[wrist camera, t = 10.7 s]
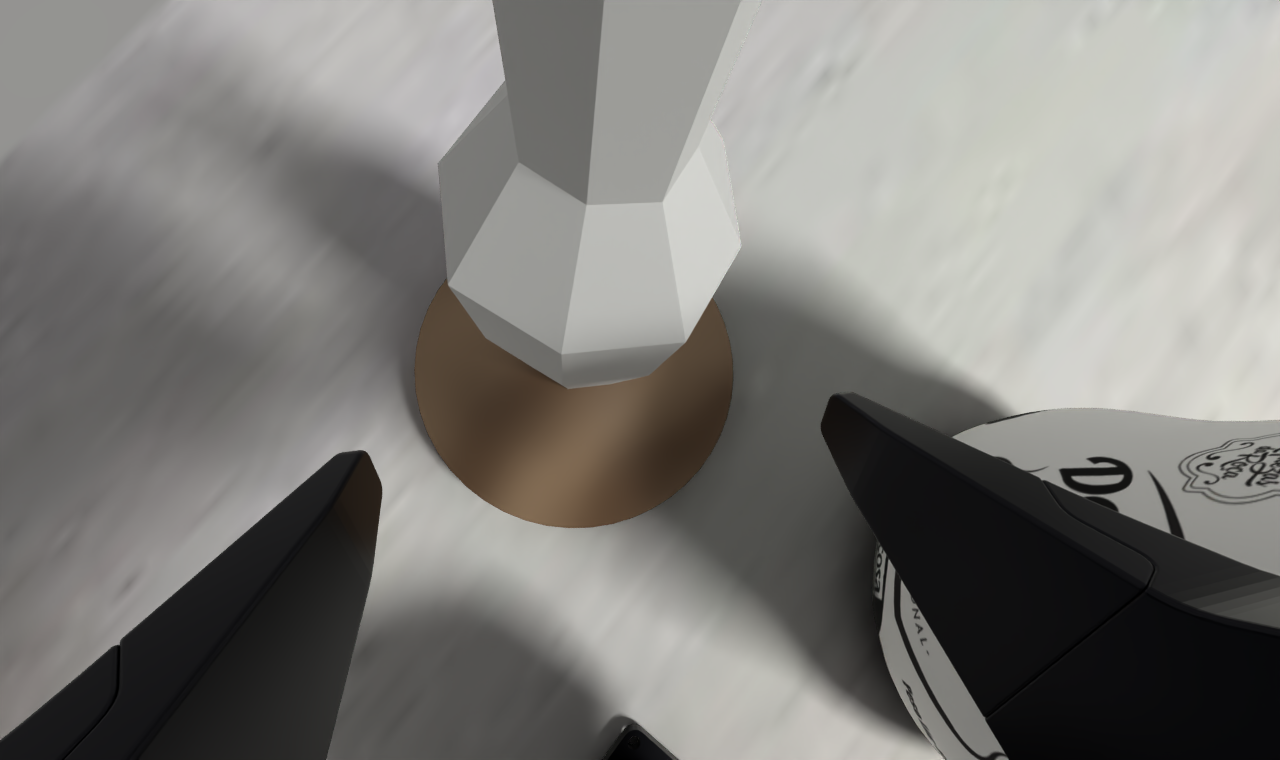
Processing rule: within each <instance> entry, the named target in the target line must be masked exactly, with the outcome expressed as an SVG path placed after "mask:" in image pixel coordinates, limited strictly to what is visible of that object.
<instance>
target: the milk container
mask: <svg viewBox="0 0 1280 760" xmlns="http://www.w3.org/2000/svg"><path fill="white" fill-rule="evenodd" d="M952 438H954V439H956V440H959V441H961V442H963V443H965V444H967V445H970V446H972V447H974V448H976V449H978V450H980V451H983V452H985V453H987V454H989V455H991V456H994V457H996V458H998V459H1000V460H1002V461H1005V462H1007V463H1009V464H1011V465H1013V466H1016V467H1018V468H1020V469H1022V470H1024V471H1026V472H1029V473H1031V474H1033V475H1035V476H1037V477H1039V478H1040V479H1041V480H1046V481H1049V482H1051V483H1053V484H1055V485H1057V486H1059V487H1062V488H1064V489H1066V490H1068V491H1070V492H1073V493H1075V494H1077V495H1079V496H1082V497H1084V498H1086V499H1089V500H1091V501H1093V502H1095V503H1098V504H1100V505H1102V506H1104V507H1107V508H1109V509H1112V510H1114V511H1116V512H1119V513H1121V514H1124V515H1126V516H1128V517H1131V518H1133V519H1136V520H1138V521H1140V522H1143V523H1145V524H1148V525H1150V526H1153V527H1155V528H1157V529H1160V530H1162V531H1165V532H1167V533H1170V534H1172V535H1175V536H1177V537H1180V538H1182V539H1185V540H1187V541H1190V542H1192V543H1194V544H1197V545H1199V546H1202V547H1204V548H1207V549H1209V550H1212V551H1214V552H1217V553H1219V554H1222V555H1224V556H1226V557H1229V558H1231V559H1234V560H1236V561H1239V562H1241V563H1244V564H1246V565H1249V566H1252V567H1254V568H1257V569H1260V570H1263V571H1266V572H1269V573H1272V574H1276V575H1279V576H1280V420H1268V421H1207V420H1196V419H1186V418H1179V417H1171V416H1164V415H1157V414H1149V413H1142V412H1135V411H1125V410H1115V409H1103V408H1065V409H1053V410H1044V411H1037V412H1029V413H1025V414H1020V415H1015V416H1011V417H1007V418H1003V419H999V420H996V421H992V422H988V423H985V424H982V425H979V426H976V427H974V428H971V429H968V430H966V431H963V432H961V433H959V434H957V435H955V436H953V437H952ZM872 596H873V610H874V616H875V622H876V626H877V631H878V635H879V639H880V643H881V648H882V652H883V655H884V659H885V662H886V665H887V668H888V671H889V673H890V675H891V677H892V679H893V682H894V684H895V686H896V688H897V690H898V693H899V695H900V697H901V699H902V700H903V702H904V704H905V706H906V708H907V710H908V712H909V713H910V715H911V716H912V718H913V719H914V721H915V723H916V724H917V726H918V727H919V728H920V730H921V731H922V732H923V734H924V735H925V736H926V738H927V739H928V740H929V742H930V743H931V744H932V745H933V746H934V748H935V749H936V750H937V751H938V752H939V754H940V755H941V756H942V757H943V758H944V759H945V760H1009V759H1008V758H1007V756H1006V754H1005V753H1004V751H1003V749H1002V748H1001V746H1000V744H999V743H998V741H997V739H996V738H995V736H994V734H993V733H992V731H991V729H990V728H989V726H988V724H987V723H986V721H985V717H983V715H982V714H981V712H980V710H979V709H978V707H977V705H976V704H975V702H974V700H973V699H972V697H971V695H970V694H969V692H968V690H967V689H966V687H965V685H964V684H963V682H962V680H961V679H960V677H959V675H958V674H957V672H956V670H955V669H954V667H953V665H952V664H951V662H950V660H949V659H948V657H947V655H946V654H945V652H944V650H943V649H942V647H941V645H940V644H939V642H938V640H937V639H936V637H935V635H934V634H933V632H932V630H931V629H930V627H929V625H928V624H927V622H926V620H925V619H924V617H923V615H922V614H921V612H920V610H919V609H918V607H917V605H916V604H915V602H914V600H913V599H912V597H911V595H910V594H909V592H908V590H907V589H906V587H905V585H904V584H903V582H902V580H901V579H900V577H899V575H898V574H897V572H896V570H895V569H894V567H893V565H892V564H891V562H890V560H889V559H888V557H887V555H886V553H885V552H884V550H883V548H882V547H881V545H880V543H879V542H878V540H877V543H876V550H875V557H874V571H873V586H872Z"/></svg>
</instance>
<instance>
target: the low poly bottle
mask: <svg viewBox="0 0 1280 760" xmlns="http://www.w3.org/2000/svg"><path fill="white" fill-rule="evenodd" d="M492 1H493V7H494V13H495V19H496V25H497V31H498V37H499V44H500V50H501V56H502V62H503V68H504V74H505V81H504V82H503V84H502V85H501V86H500V87H499V89H498V90H497V91H496V92H495V94H494V95H493V96H492V97H491V99H490V100H489V101H488V102H487V104H486V105H485V106H484V107H483V109H482V110H481V111H480V112H479V113H478V115H477V116H476V117H475V118H474V120H473V121H472V122H471V123H470V125H469V126H468V127H467V128H466V130H465V131H464V132H463V133H462V135H461V136H460V137H459V138H458V140H457V141H456V142H455V143H454V145H453V146H452V147H451V148H450V149H449V151H448V152H447V153H446V154H445V156H444V157H443V158H442V159H441V161H440V162H439V163H438V169H439V181H440V194H441V206H442V219H443V231H444V244H445V256H446V269H447V281H448V286H449V287H450V289H451V290H452V292H453V293H454V294H455V296H456V297H457V299H458V300H459V301H460V303H461V304H462V306H463V307H464V308H465V310H466V311H467V313H468V314H469V315H470V317H471V318H472V320H473V321H474V322H475V324H476V325H477V327H478V328H479V329H480V331H481V332H482V334H483V335H484V336H485V338H486V339H488V340H490V341H491V342H493V343H494V344H496V345H498V346H499V347H501V348H502V349H504V350H505V351H507V352H509V353H510V354H512V355H513V356H515V357H517V358H518V359H520V360H521V361H523V362H525V363H526V364H528V365H529V366H531V367H533V368H534V369H536V370H538V371H539V372H541V373H543V374H544V375H546V376H547V377H549V378H551V379H552V380H554V381H556V382H557V383H559V384H561V385H562V386H564V387H566V388H567V389H573V388H582V387H591V386H600V385H609V384H614V383H618V382H622V381H627V380H631V379H635V378H640V377H644V376H649V375H650V374H651V373H652V372H653V371H654V370H656V369H657V368H658V367H659V366H660V365H661V364H662V363H663V362H664V361H666V360H667V359H668V358H669V357H670V356H671V355H672V354H673V353H674V352H676V351H677V350H678V349H679V348H680V347H681V346H682V345H683V344H684V343H686V341H687V339H688V338H689V336H690V334H691V333H692V331H693V329H694V327H695V326H696V324H697V322H698V321H699V319H700V317H701V315H702V314H703V312H704V310H705V309H706V307H707V305H708V303H709V302H710V300H711V298H712V297H713V295H714V293H715V291H716V290H717V288H718V286H719V285H720V283H721V281H722V279H723V278H724V276H725V274H726V273H727V271H728V269H729V267H730V266H731V264H732V262H733V261H734V259H735V257H736V255H737V254H738V252H739V250H740V249H741V247H742V245H741V239H740V233H739V227H738V221H737V215H736V209H735V204H734V198H733V192H732V186H731V180H730V174H729V168H728V163H727V157H726V151H725V145H724V140H723V138H722V136H721V135H720V133H719V131H718V130H717V128H716V126H715V125H714V123H713V122H712V120H711V117H712V114H713V112H714V110H715V108H716V105H717V103H718V101H719V98H720V96H721V94H722V92H723V89H724V87H725V85H726V82H727V80H728V78H729V76H730V73H731V71H732V69H733V66H734V64H735V62H736V60H737V57H738V55H739V53H740V50H741V48H742V46H743V44H744V41H745V39H746V37H747V34H748V32H749V30H750V27H751V25H752V23H753V21H754V18H755V16H756V14H757V11H758V9H759V7H760V5H761V2H762V0H492Z"/></svg>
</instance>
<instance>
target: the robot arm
mask: <svg viewBox="0 0 1280 760" xmlns="http://www.w3.org/2000/svg"><path fill="white" fill-rule="evenodd" d="M821 432H822V435H823V437H824V439H825V442H826V444H827V446H828V448H829V450H830V452H831V454H832V457H833V459H834V461H835V463H836V465H837V467H838V469H839V472H840V474H841V476H842V478H843V480H844V482H845V484H846V486H847V488H848V490H849V492H850V494H851V496H852V498H853V500H854V502H855V503H856V505H857V507H858V508H859V510H860V512H861V513H862V515H863V517H864V518H865V520H866V522H867V523H868V525H869V527H870V528H871V530H872V532H873V533H874V535H875V537H876V538H877V540H878V542H879V543H880V545H881V547H882V548H883V550H884V552H885V553H886V555H887V557H888V559H889V560H890V562H891V564H892V565H893V567H894V569H895V570H896V572H897V574H898V575H899V577H900V579H901V580H902V582H903V584H904V585H905V587H906V589H907V590H908V592H909V594H910V595H911V597H912V599H913V600H914V602H915V604H916V605H917V607H918V609H919V610H920V612H921V614H922V615H923V617H924V619H925V620H926V622H927V624H928V625H929V627H930V629H931V630H932V632H933V634H934V635H935V637H936V639H937V640H938V642H939V644H940V645H941V647H942V649H943V650H944V652H945V654H946V655H947V657H948V659H949V660H950V662H951V664H952V665H953V667H954V669H955V670H956V672H957V674H958V675H959V677H960V679H961V680H962V682H963V684H964V685H965V687H966V689H967V690H968V692H969V694H970V695H971V697H972V699H973V700H974V702H975V704H976V705H977V707H978V709H979V710H980V712H981V714H982V715H983V717H985V721H986V723H987V724H988V726H989V728H990V729H991V731H992V733H993V734H994V736H995V738H996V739H997V741H998V743H999V744H1000V746H1001V748H1002V749H1003V751H1004V753H1005V754H1006V756H1007V758H1008V759H1009V760H1280V576H1279V575H1276V574H1272V573H1269V572H1266V571H1263V570H1260V569H1257V568H1254V567H1252V566H1249V565H1246V564H1244V563H1241V562H1239V561H1236V560H1234V559H1231V558H1229V557H1226V556H1224V555H1222V554H1219V553H1217V552H1214V551H1212V550H1209V549H1207V548H1204V547H1202V546H1199V545H1197V544H1194V543H1192V542H1190V541H1187V540H1185V539H1182V538H1180V537H1177V536H1175V535H1172V534H1170V533H1167V532H1165V531H1162V530H1160V529H1157V528H1155V527H1153V526H1150V525H1148V524H1145V523H1143V522H1140V521H1138V520H1136V519H1133V518H1131V517H1128V516H1126V515H1124V514H1121V513H1119V512H1116V511H1114V510H1112V509H1109V508H1107V507H1104V506H1102V505H1100V504H1098V503H1095V502H1093V501H1091V500H1089V499H1086V498H1084V497H1082V496H1079V495H1077V494H1075V493H1073V492H1070V491H1068V490H1066V489H1064V488H1062V487H1059V486H1057V485H1055V484H1053V483H1051V482H1049V481H1046V480H1041V479H1040V478H1039V477H1037V476H1035V475H1033V474H1031V473H1029V472H1026V471H1024V470H1022V469H1020V468H1018V467H1016V466H1013V465H1011V464H1009V463H1007V462H1005V461H1002V460H1000V459H998V458H996V457H994V456H991V455H989V454H987V453H985V452H983V451H980V450H978V449H976V448H974V447H972V446H970V445H967V444H965V443H963V442H961V441H959V440H956V439H954V438H952V437H950V436H948V435H945V434H943V433H941V432H939V431H937V430H935V429H932V428H930V427H928V426H926V425H924V424H921V423H919V422H917V421H915V420H913V419H910V418H908V417H906V416H904V415H902V414H900V413H897V412H895V411H893V410H891V409H889V408H886V407H884V406H882V405H880V404H878V403H875V402H873V401H871V400H869V399H867V398H864V397H862V396H860V395H858V394H856V393H853V392H844V393H836V394H833V395H832V396H831V397H830V399H829V401H828V404H827V407H826V410H825V413H824V416H823V419H822V422H821ZM381 500H382V485H381V481H380V479H379V477H378V474H377V472H376V470H375V468H374V465H373V463H372V461H371V458H370V456H369V455H368V453H367V452H366V451H363V450H358V451H350V452H342V453H339V454H337V455H335V456H334V457H333V458H332V459H330V460H329V461H328V462H327V463H326V464H325V465H323V466H322V467H321V468H320V469H319V470H318V471H316V472H315V473H314V474H313V475H312V476H311V477H310V478H308V479H307V480H306V481H305V482H304V483H303V484H301V485H300V486H299V487H298V488H297V489H296V490H294V491H293V492H292V493H291V494H290V495H289V496H287V497H286V498H285V499H284V500H283V501H282V502H280V503H279V504H278V505H277V506H276V507H275V508H273V509H272V510H271V511H270V512H269V513H268V514H266V515H265V516H264V517H263V518H262V519H261V520H259V521H258V522H257V523H256V524H255V525H254V526H253V527H251V528H250V529H249V530H248V531H247V532H246V533H244V534H243V535H242V536H241V537H240V538H239V539H237V540H236V541H235V542H234V543H233V544H232V545H230V546H229V547H228V548H227V549H226V550H225V551H223V552H222V553H221V554H220V555H219V556H218V557H216V558H215V559H214V560H213V561H212V562H211V563H209V564H208V565H207V566H206V567H205V568H204V569H202V570H201V571H200V572H199V573H198V574H197V575H196V576H194V577H193V578H192V579H191V580H190V581H189V582H187V583H186V584H185V585H184V586H183V587H182V588H180V589H179V590H178V591H177V592H176V593H175V594H173V595H172V596H171V597H170V598H169V599H168V600H166V601H165V602H164V603H163V604H162V605H161V606H159V607H158V608H157V609H156V610H155V611H154V612H152V613H151V614H150V615H149V616H148V617H147V618H145V619H144V620H143V621H142V622H141V623H140V624H138V625H137V626H136V627H135V628H134V629H133V630H132V631H130V632H129V633H128V634H127V635H126V636H125V637H123V638H122V639H121V641H120V645H115V646H113V647H111V648H110V649H109V650H108V651H107V652H106V653H104V654H103V655H102V656H101V657H100V658H99V659H97V660H96V661H95V662H94V663H93V664H92V665H91V666H89V667H88V668H87V669H86V670H85V671H84V672H82V673H81V674H80V675H79V676H78V677H76V678H75V679H74V680H73V681H72V682H70V683H69V684H68V685H67V686H66V687H64V688H63V689H62V690H61V691H60V692H59V693H57V694H56V695H55V696H54V697H53V698H51V699H50V700H49V701H48V702H47V703H45V704H44V705H43V706H42V707H41V708H39V709H38V710H37V711H36V712H35V713H33V714H32V715H31V716H30V717H29V718H27V719H26V720H25V721H24V722H23V723H21V724H20V725H19V726H18V727H16V728H15V729H14V730H13V731H11V732H10V733H9V734H8V735H6V736H5V737H4V738H3V739H1V740H0V760H326V758H327V754H328V750H329V746H330V742H331V738H332V734H333V730H334V726H335V722H336V718H337V714H338V710H339V706H340V702H341V698H342V694H343V690H344V686H345V682H346V678H347V674H348V670H349V666H350V662H351V658H352V654H353V650H354V646H355V642H356V638H357V634H358V630H359V626H360V622H361V618H362V614H363V610H364V606H365V602H366V598H367V594H368V590H369V586H370V581H371V577H372V571H373V564H374V557H375V549H376V541H377V532H378V524H379V516H380V508H381ZM633 736H636V737H638V738H639V739H638V741H637V742H636V743H635V744H630V743H629V739H630V738H631V737H633ZM602 760H678V759H676V758H675V757H674V756H673V755H672V754H671V753H670V752H669V751H667V750H666V749H665V748H664V747H663V746H662V745H661V744H660V743H658V742H657V741H656V740H655V739H654V738H653V737H652V736H651V735H649V734H648V733H647V732H646V731H645V730H644V729H643V728H642V727H640V726H639V725H637V724H631V725H629V726H627V727H626V728H625V729H624V730H623V732H622V733H621V734H620V736H619V737H618V738H617V740H616V741H615V743H614V744H613V745H612V747H611V748H610V749H609V751H608V752H607V754H606V755H605V756H604V758H603V759H602Z"/></svg>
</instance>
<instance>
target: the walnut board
mask: <svg viewBox="0 0 1280 760" xmlns="http://www.w3.org/2000/svg"><path fill="white" fill-rule="evenodd" d="M414 371H415V387H416V395H417V400H418V405H419V409H420V414H421V416H422V419H423V422H424V425H425V427H426V430H427V433H428V435H429V437H430V439H431V441H432V443H433V444H434V446H435V448H436V450H437V452H438V454H439V455H440V456H441V458H442V459H443V460H444V462H445V463H446V464H447V466H448V467H449V469H450V470H451V471H452V472H453V473H454V474H455V475H456V476H457V477H458V478H459V479H460V480H461V481H462V483H463V484H464V485H465V486H466V487H468V488H469V489H470V490H471V491H473V492H474V493H475V494H477V495H478V496H479V497H480V498H482V499H483V500H484V501H486V502H488V503H489V504H491V505H493V506H495V507H496V508H498V509H500V510H502V511H503V512H506V513H508V514H511V515H513V516H516V517H518V518H521V519H523V520H526V521H530V522H534V523H538V524H542V525H546V526H555V527H564V528H588V527H596V526H602V525H609V524H614V523H617V522H620V521H623V520H627V519H630V518H633V517H635V516H638V515H640V514H642V513H644V512H646V511H648V510H651V509H653V508H654V507H656V506H657V505H659V504H661V503H662V502H664V501H665V500H667V499H669V498H670V497H671V496H672V495H674V494H675V493H676V492H677V491H678V490H680V489H681V488H682V487H683V486H684V485H686V484H687V483H688V481H689V480H690V479H691V478H692V477H693V476H694V475H695V474H696V473H697V472H698V471H699V470H700V468H701V467H702V465H703V464H704V462H705V461H706V460H707V458H708V457H709V455H710V454H711V452H712V450H713V449H714V447H715V445H716V443H717V441H718V439H719V437H720V435H721V432H722V430H723V427H724V424H725V421H726V419H727V415H728V411H729V406H730V402H731V397H732V386H733V359H732V353H731V347H730V341H729V337H728V334H727V330H726V327H725V324H724V321H723V319H722V316H721V314H720V312H719V309H718V307H717V305H716V303H715V301H714V300H713V298H711V300H710V302H709V303H708V305H707V307H706V309H705V310H704V312H703V314H702V315H701V317H700V319H699V321H698V322H697V324H696V326H695V327H694V329H693V331H692V333H691V334H690V336H689V338H688V339H687V341H686V343H684V344H683V345H682V346H681V347H680V348H679V349H678V350H677V351H676V352H674V353H673V354H672V355H671V356H670V357H669V358H668V359H667V360H666V361H664V362H663V363H662V364H661V365H660V366H659V367H658V368H657V369H656V370H654V371H653V372H652V373H651V374H650V375H649V376H644V377H640V378H635V379H631V380H627V381H622V382H618V383H614V384H609V385H600V386H591V387H582V388H573V389H567V388H566V387H564V386H562V385H561V384H559V383H557V382H556V381H554V380H552V379H551V378H549V377H547V376H546V375H544V374H543V373H541V372H539V371H538V370H536V369H534V368H533V367H531V366H529V365H528V364H526V363H525V362H523V361H521V360H520V359H518V358H517V357H515V356H513V355H512V354H510V353H509V352H507V351H505V350H504V349H502V348H501V347H499V346H498V345H496V344H494V343H493V342H491V341H490V340H488V339H486V338H485V336H484V335H483V334H482V332H481V331H480V329H479V328H478V327H477V325H476V324H475V322H474V321H473V320H472V318H471V317H470V315H469V314H468V313H467V311H466V310H465V308H464V307H463V306H462V304H461V303H460V301H459V300H458V299H457V297H456V296H455V294H454V293H453V292H452V290H451V289H450V287H449V286H448V281H447V279H446V280H445V281H444V283H443V284H442V286H441V287H440V288H439V290H438V291H437V293H436V295H435V297H434V299H433V301H432V302H431V304H430V306H429V308H428V310H427V313H426V316H425V318H424V321H423V324H422V326H421V329H420V334H419V338H418V343H417V347H416V357H415V369H414Z"/></svg>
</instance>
